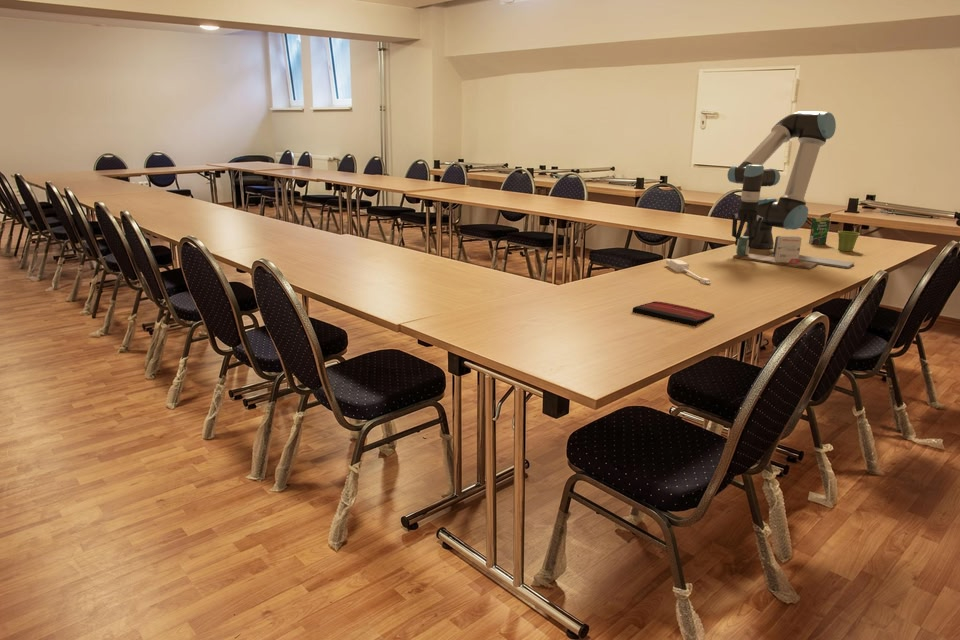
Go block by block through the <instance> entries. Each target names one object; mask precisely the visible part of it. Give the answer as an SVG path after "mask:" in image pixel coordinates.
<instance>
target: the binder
mask: <svg viewBox="0 0 960 640" xmlns="http://www.w3.org/2000/svg"><path fill="white" fill-rule="evenodd" d="M632 313H634V314H636V315H637V314H638V315H642V316H646V317H650V318H656V319H660V320H663V321H669V322H673V323H678V324H682V325H687V326H690V327H695V328H697V323H699V324H700V325H702V324H704V323H706V322H708V321H709V320H711V319H713V318H714V317H715V314H714V313H712V312H709V311H706V310H705V311H704V310H701V309H698V308H693V307H690V306H685V305H679V304H675V303H674V304H673V303H669V302H666V301H665V302H663V301H651V302H646V303H643V304H640V305H636V306H634V307H632Z"/></svg>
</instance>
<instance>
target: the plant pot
mask: <svg viewBox="0 0 960 640" xmlns="http://www.w3.org/2000/svg"><path fill="white" fill-rule="evenodd" d="M837 233H838V234H837V235H838V250H839V251H840V252H841V251H843V252H853V250H854V247H855V245H856V242H857V240H858V237H859V236H860V234H861V233H859V232H856V231H845V230H838V231H837Z"/></svg>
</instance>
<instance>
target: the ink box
mask: <svg viewBox="0 0 960 640" xmlns="http://www.w3.org/2000/svg"><path fill="white" fill-rule="evenodd" d="M777 236H778V241H777V248H776V255H775V261H777V262H788V263H798V259H799V255H800V251H801V245H802V237H801V236H798V235H777Z"/></svg>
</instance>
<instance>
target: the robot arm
mask: <svg viewBox="0 0 960 640" xmlns="http://www.w3.org/2000/svg"><path fill="white" fill-rule="evenodd" d="M836 129H837V124H836V118H835V116H834V115H833V113H831V112H829V111H822V110H821V111H795V112H793V113H790V114H788V115H786V116H785V117H784V118H782V119H780V120H779V121H778V122H777V123H776V124H775V125H774V126H773V127H772V128H771V131H770V133H769V134H768V135H767V136H766V137H765V138H764V140H763V141H761V142H760V143H759V144H758V146H757V147H756V148H755V149H754V150H753V151H752V152H751V153H750V154H749V155H748V156H747V157H746V158H745V159H744V160H743V161H742V162H741V163H740V164H739V165H732V166H731V167H729V169H728V171H727V178H728V179H727V180H728V181H729V182H730V183H733V184H742V189H741V196H740V199H741V200H740V203H739V210H738V211H737V213H733V214H732V215H731V219H732V224H731V225H732V226H731V236H732V237H733V238H735V241H734V245H735V246H736V252H735V254H737V250H738V243H739V237H742V236H748V237H749V239H748V240H747V244H746V251H745V255H747V254H749V253H750V248H752V249H753V248H754V249H772V248H773V249H774V245H775V241H774V237H773V228H778V229H784V230H793V231H794V230H798V229H800V228H801V227H803V226H804V224H805V223H806V221H807V219H808V216H809V208H808V206H807V205H806V204H807V202H806V200H805V197H806V193H807V190H808V187H809V183H810V181H811V177H812V174H813V171H814V167H815V165H816V162H817V158H818V156H819V152H820V149H821V147H823V146H824V145H826V142H827V140H830V139H832V138H833V137H834V134H835V132H836ZM795 138H797V140H798V142H799V147H798V150H797V153H796V157H795V160H794V163H793V165H792V168H791V171H790V175H789V178H788V182H787V184H786V188H785V191H784V194H783V195H781V196H780V197H779V198H778V200H777V198H774V197H770V198H769V197H767V198H760V197H761V196H760V195H761V188H762V187H773V186H776V185H778V183H779V182H780V179H781V174H780V172H779V170H777V169H775V168H765V167H764V164H766V162H767V161H768V160H769V159H770V158H771V157H772V156H773V154H774V153H776V151H777V150H778V149H779V148H781V146H782V145H783V144H784V143H788V142H789V141H790V140H791V139H795ZM738 218H739V225H738ZM745 223H746V228H745V230H744V226H745ZM743 230H744V233H742V232H743ZM741 235H742V236H741Z"/></svg>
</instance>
